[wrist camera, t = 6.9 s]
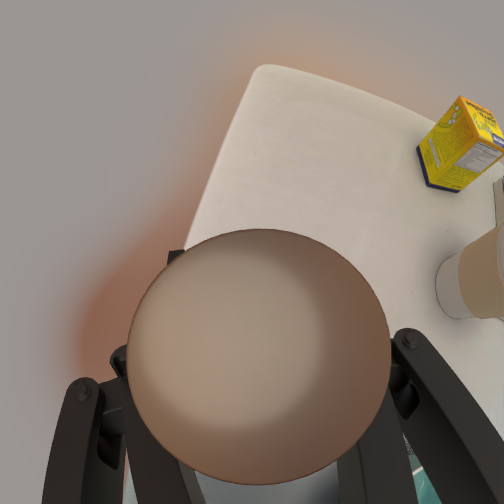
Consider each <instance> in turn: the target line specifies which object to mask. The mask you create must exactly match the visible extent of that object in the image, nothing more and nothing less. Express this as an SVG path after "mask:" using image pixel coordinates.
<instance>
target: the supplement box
mask: <svg viewBox="0 0 504 504" xmlns="http://www.w3.org/2000/svg"><path fill="white" fill-rule="evenodd" d="M416 150H417V153H418V155H419V159H420V162H421V166H422V170H423V173H424V177H425V180H426V184H427V186H431V187H435V188H440V189H444V190H448V191H453V192H457V193H458V192H459V191H461V190H462V189H463V188H465V187H466V186H467V185H468V184H470V183H471V182H472V181H473V180H475V179H476V178H477V177H478V176H480V175H481V174H482V173H483V172H485V171H486V170H487V169H488V168H490V167H491V166H492V165H493V164H494V163H496V162H497V161H498V160H499V159H501V158H502V157H503V156H504V137H503V134H502V132H501V130H500V128H499V126H498V124H497V122H496V120H495V118H494V116H493V115H492V113H491V112H490V111H488V110H487V109H485V108H483V107H481V106H479V105H477V104H475V103H474V102H472V101H470V100H468V99H466V98H464V97H462V96H459V97H458V99H457V100H456V101H455V102H454V104H453V105H452V106H451V107H450V108H449V110H448V111H447V112H446V113H445V115H444V116H443V117H442V118H441V119H440V121H439V122H438V123H437V124H436V125H435V126H434V128H433V129H432V130H431V131H430V132H429V134H428V135H427V136H426V137H425V138H424V140H423V141H422V142H421V143H420V144H419V145H418V147H417V148H416Z"/></svg>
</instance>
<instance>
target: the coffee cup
mask: <svg viewBox="0 0 504 504" xmlns="http://www.w3.org/2000/svg"><path fill="white" fill-rule="evenodd" d="M436 292H437V297H438V301H439V303H440V305H441V307H442V309H443V311H444V312H445V313H446V314H447V315H448V316H449V317H451V318H454V319H463V318H476V317H477V318H481V319H485V318H496V317H504V222H502V223H501V224H500V225H498V226H497V227H495V228H494V229H492V230H491V231H489V232H488V233H486V234H485V235H483V236H482V237H480V238H479V239H477V240H476V241H474V242H472V243H471V244H469V245H468V246H466V248H465V249H464V250H462V251H460V252H459V253H457V254H455V255H454V256H452V257H450V258H449V259H447V260H445V261H444V262H443V263H442V264H441V266H440V268H439V270H438V273H437V277H436Z"/></svg>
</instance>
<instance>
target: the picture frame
mask: <svg viewBox="0 0 504 504" xmlns="http://www.w3.org/2000/svg"><path fill="white" fill-rule="evenodd" d="M503 177H504V176H503ZM493 185H494V195H495V207H496V227H497V226H498V225H500V224H501V223H502V222H504V179H502V178H500V179H499V180H497V181H496V182H495V183H493ZM498 318H500V319H501V320H503V321H504V317H498Z"/></svg>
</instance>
